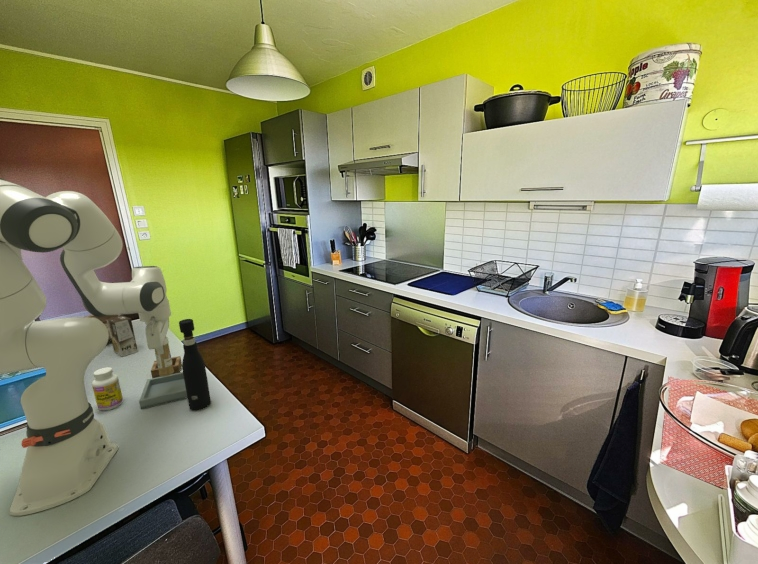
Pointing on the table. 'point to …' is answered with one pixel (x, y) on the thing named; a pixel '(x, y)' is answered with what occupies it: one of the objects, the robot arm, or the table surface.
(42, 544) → the table surface
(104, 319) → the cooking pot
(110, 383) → the supplement bottle
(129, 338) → the coffee box
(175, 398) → the slate tray
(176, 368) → the walnut collar
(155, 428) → the table surface
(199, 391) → the black water bottle
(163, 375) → the sprinkles bottle
